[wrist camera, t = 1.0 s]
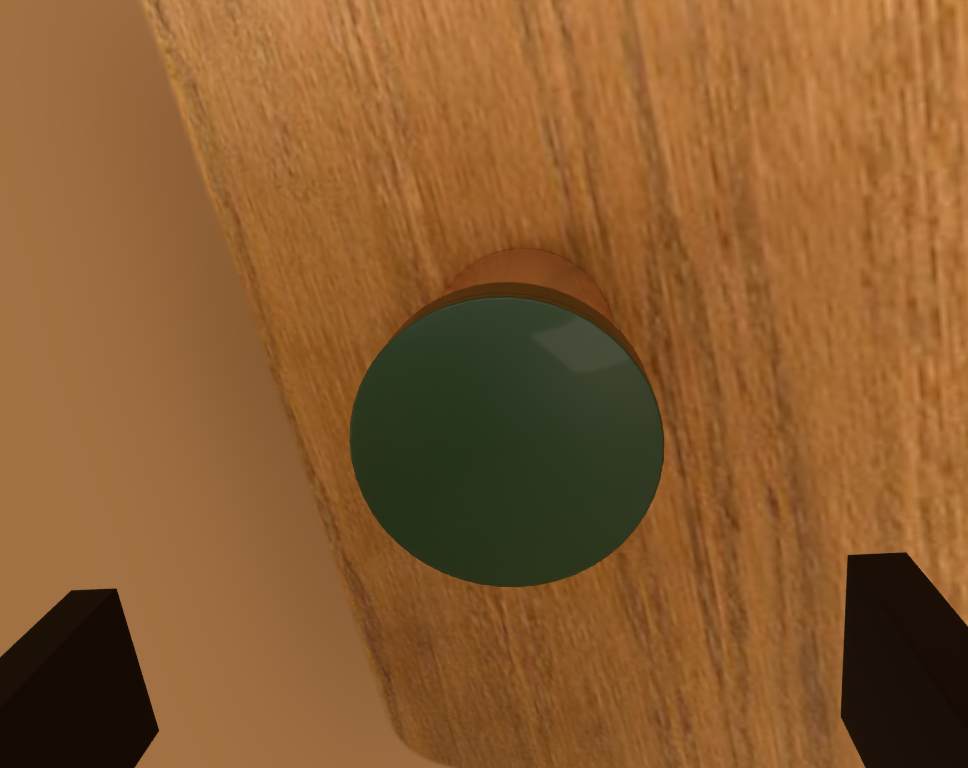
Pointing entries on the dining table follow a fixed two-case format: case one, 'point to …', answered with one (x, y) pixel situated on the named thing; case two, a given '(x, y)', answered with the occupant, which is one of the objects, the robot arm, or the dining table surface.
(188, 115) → the dining table surface
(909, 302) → the dining table surface
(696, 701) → the dining table surface
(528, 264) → the jar
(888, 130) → the dining table surface
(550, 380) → the jar lid
